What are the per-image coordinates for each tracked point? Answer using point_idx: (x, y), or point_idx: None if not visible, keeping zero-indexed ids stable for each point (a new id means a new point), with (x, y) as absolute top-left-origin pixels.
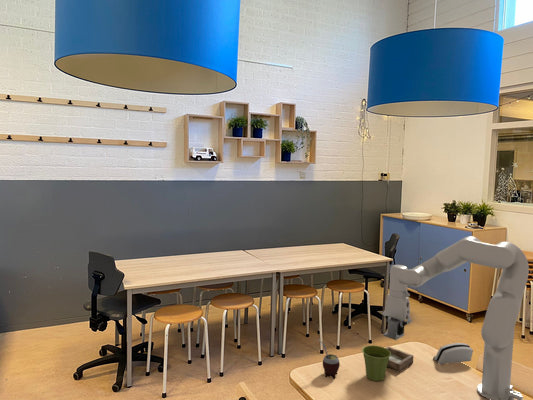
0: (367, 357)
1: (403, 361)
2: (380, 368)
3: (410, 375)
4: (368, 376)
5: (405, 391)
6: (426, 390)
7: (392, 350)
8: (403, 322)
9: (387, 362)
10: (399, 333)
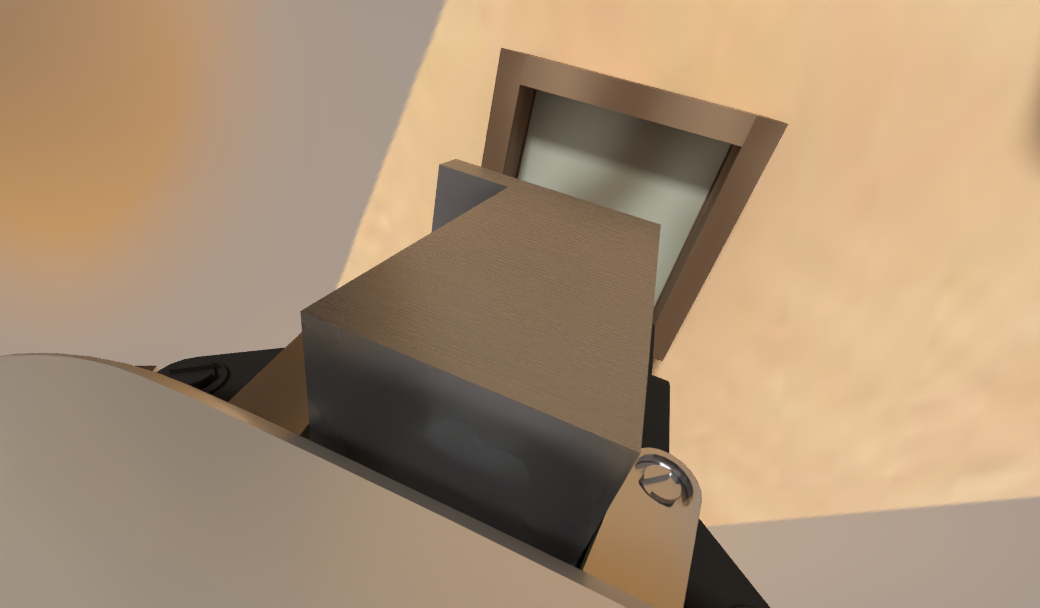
0: None
1: (686, 302)
2: None
3: (745, 336)
4: None
5: (717, 497)
6: (853, 472)
7: (555, 93)
8: (637, 544)
9: None
10: None
